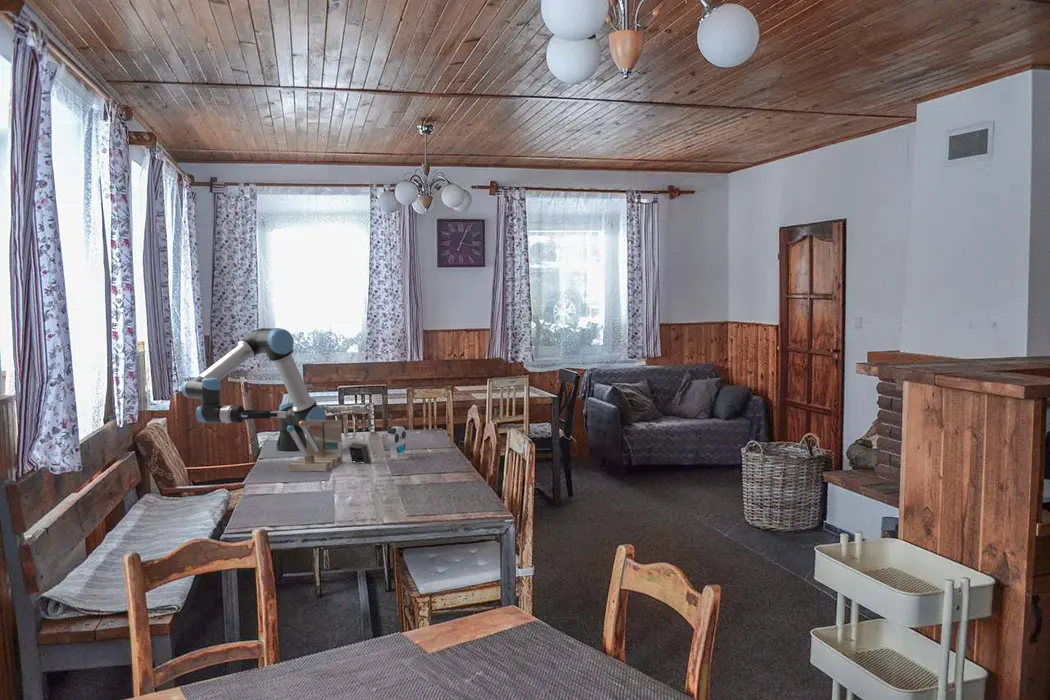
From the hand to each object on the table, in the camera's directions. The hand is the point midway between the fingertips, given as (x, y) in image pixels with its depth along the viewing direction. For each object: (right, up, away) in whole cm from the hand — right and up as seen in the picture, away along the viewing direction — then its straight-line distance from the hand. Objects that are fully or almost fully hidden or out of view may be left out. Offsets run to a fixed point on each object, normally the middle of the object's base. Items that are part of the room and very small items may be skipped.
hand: (285, 414), depth 356 cm
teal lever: (+11, -20, 0) cm, 23 cm away
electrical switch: (+29, -23, +16) cm, 41 cm away
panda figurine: (+44, -23, +26) cm, 56 cm away
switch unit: (+11, -23, +8) cm, 27 cm away
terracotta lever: (+12, -20, +14) cm, 27 cm away
